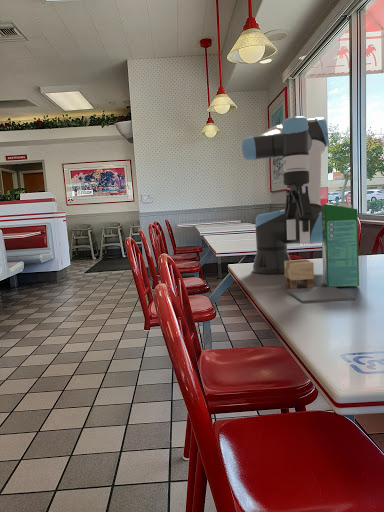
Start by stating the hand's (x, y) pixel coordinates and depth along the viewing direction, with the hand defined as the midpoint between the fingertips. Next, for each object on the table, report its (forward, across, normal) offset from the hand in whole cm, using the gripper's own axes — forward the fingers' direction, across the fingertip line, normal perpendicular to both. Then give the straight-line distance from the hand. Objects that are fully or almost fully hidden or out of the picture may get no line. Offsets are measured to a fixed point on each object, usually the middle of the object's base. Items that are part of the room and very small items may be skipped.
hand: (297, 241), depth 118 cm
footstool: (+14, 0, 0) cm, 14 cm away
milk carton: (+14, +1, +12) cm, 19 cm away
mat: (+14, +12, +2) cm, 19 cm away
